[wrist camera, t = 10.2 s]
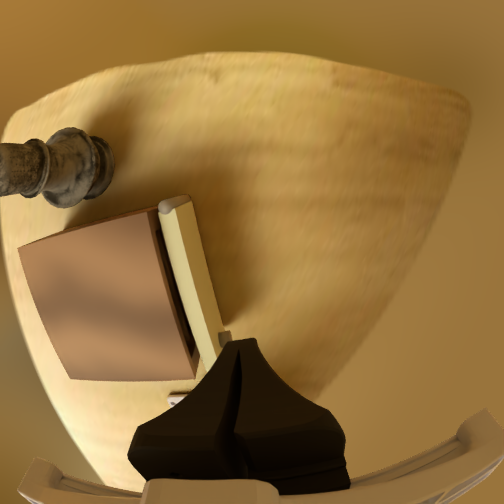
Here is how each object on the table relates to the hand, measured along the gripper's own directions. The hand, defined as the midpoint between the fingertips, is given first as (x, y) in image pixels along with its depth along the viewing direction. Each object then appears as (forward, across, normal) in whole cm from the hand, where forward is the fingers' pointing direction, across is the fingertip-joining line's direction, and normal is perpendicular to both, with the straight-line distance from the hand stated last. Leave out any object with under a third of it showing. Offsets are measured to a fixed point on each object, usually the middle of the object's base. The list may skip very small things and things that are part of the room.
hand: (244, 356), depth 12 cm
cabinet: (+10, +10, -2) cm, 14 cm away
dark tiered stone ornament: (+10, +11, -12) cm, 19 cm away
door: (+10, +3, -2) cm, 10 cm away
